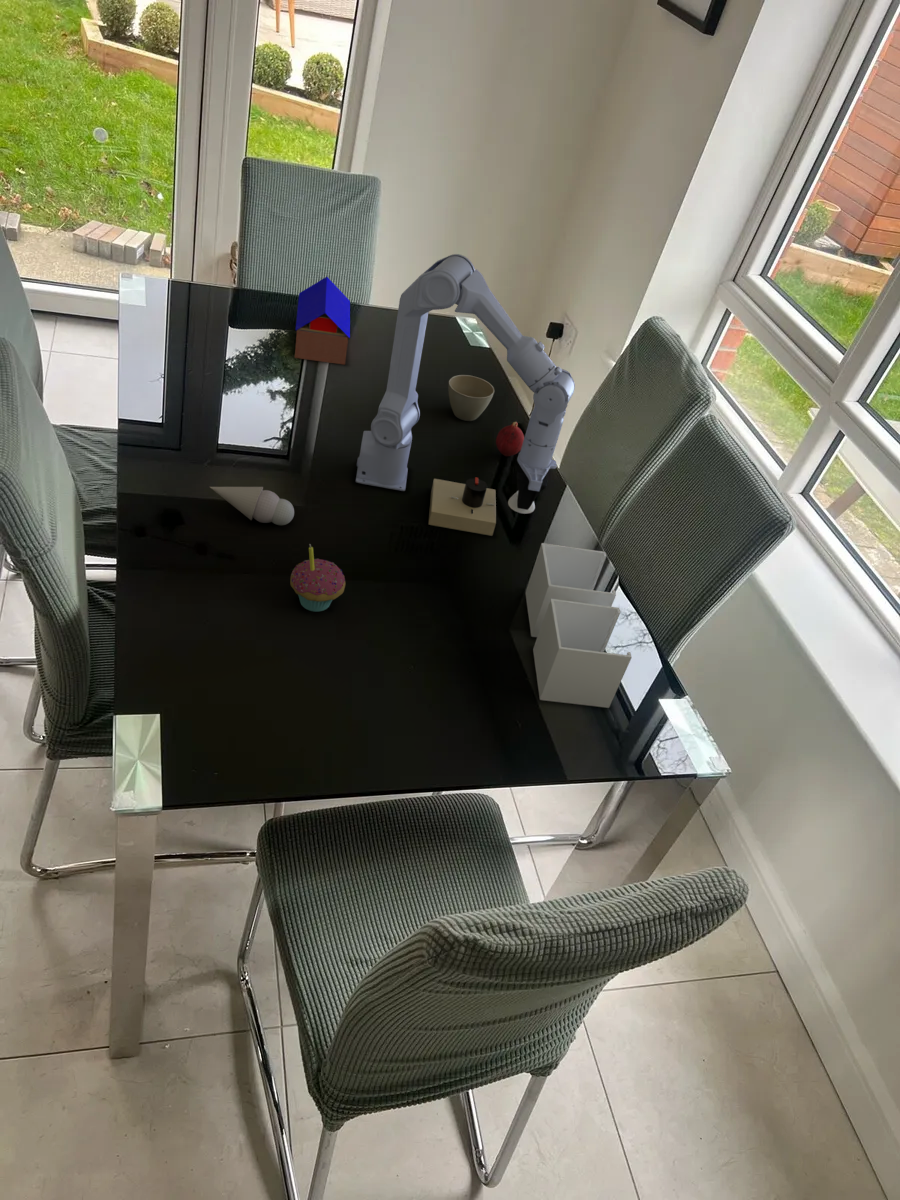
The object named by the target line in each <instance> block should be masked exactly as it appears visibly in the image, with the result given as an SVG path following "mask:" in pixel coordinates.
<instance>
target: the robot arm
mask: <svg viewBox="0 0 900 1200" xmlns="http://www.w3.org/2000/svg"><path fill="white" fill-rule="evenodd" d="M454 305H457V306H456V308H455V309H454V312H455V313H459V314H460V313H461V314H470V315H471V314H472V315H475V316H476V318H478V319H479V320H480V322H481V323H482V324H483V325H484V326H485V327H486V329H487V330H489V331H490V333H491V334H492V335H493V336H494V337H495V338H496V339H497V341H499V342H500V344H501V345H502V346H503V347H504V348H505V349H506V361H507V363H508V364H509V365H510V366H511V367H512V369H513V370H514V371H515V373H516V374H517V375H518V376H519V378H520V379H521V380H522V382H523V383H524V384H525V385H526V386H527V388H528V389H529V390H530V391H531V392H532V393H533V394H532V395H533V396H532V399H533V404H534V407H533V409H532V411H531V413H530V417H529V420H528V425H527V427H526V431H525V434H524V441H523V444H522V448H521V450H520V451H519V452H518V455H516V456H515V463H516V467H517V468H516V469H517V472H516V492H517V491H518V499H517V508H520V509H526V510H528V509H529V508H530V506H531V505H532V503H533V501H534V502H535V500H536V498H537V497H538V496H539V494H540V493H542V491H544V490H545V489H546V488H547V487H548V485H549V484H548V479H545V477H546V475H547V474H548V472H549V471H550V470H556V468H557V465H558V464H557V461H556V460H554V459H553V457H554V453H555V450H556V447H557V444H558V440H559V437H560V433H561V430H562V427H563V424H564V421H565V420H564V419H565V416H566V413H567V407H568V404H569V402H570V401H571V398H572V397H573V395H574V393H575V388H576V384H575V380H574V378H573V377H572V373H571V372H570V371H568V370H566V369H563V368H561V366H560V365H558V366H557V365H556V364H555V362H553V360H552V359H551V358H550V356H549V355H548V353H546V351H545V350H544V349H545V348H546V346H545V344H544V343H542V341H539V342H538V341H537V340H536V339H535V338H534V337H532V336H528V335H527V336H526V335H523V334H522V332H521V331H520V330H519V329H518V327H517V325H516V324H515V323H514V322H513V319H512V318H511V317H510V316H509V314H508V313H507V312H506V310H505V308H504V307H503V305H501V303H500V302H499V300H498V299H497V298H496V296H495V295H494V293H493V292H492V291H491V289H490V287H489V286H488V284H487V281H486V279H485V277H484V275H483V273H481V272H480V271H479V269H477V268H475V266H474V263H473V262H472V261H471V260H470V259H469V257H467V256H465V255H462V254H459V253H453V254H450V255H448V256H445V257H443V258H440V259H437V261H435V263H433V264H432V265H431V266H430V267H428V268H427V269H426V270H425V271H424V272H423V273H421V274H420V275H419V276H418V277H417V278H416V279H415V280H414V281H413V282H412V283H411V284H410V285H409V286H408V287H407V288H406V289H405V290H404V291H403V292H402V293H401V294H400V297H399V301H398V308H397V315H396V323H395V329H394V336H393V343H392V350H391V357H390V363H389V371H388V377H387V383H386V389H385V390H386V391H385V393H384V395H383V396H382V398H381V401H380V403H379V406H378V409H377V413H376V415H375V417H374V418H373V419H372V421H371V424H370V430H364V431H363V433H362V438H361V445H360V451H359V456H358V457H357V461H356V467H357V468H356V469H357V470H356V477H355V483H357V484H361V485H368V486H372V487H377V488H384V489H389V490H395V491H399V492H400V491H401V492H405V491H406V488H407V479H408V470H409V468H408V463H409V457H410V451H411V447H412V444H413V443H412V442H413V441H412V440H413V434H412V428H413V427H414V426H415V425H417V423H418V422H419V420H420V416H421V410H420V407H419V403H418V399H419V394H418V392H417V391H416V389H417V383H418V379H419V378H418V377H419V372H420V365H421V361H422V360H421V359H422V355H423V348H424V342H425V336H426V330H427V324H428V317H429V313H430V312H432V311H437V310H445V309H449V308H451V307H453V306H454Z"/></svg>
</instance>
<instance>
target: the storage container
mask: <svg viewBox="0 0 900 1200" xmlns="http://www.w3.org/2000/svg"><path fill="white" fill-rule="evenodd" d="M606 559H607V553H606V551H601V550H594V549H587V548H580V547H573V546H567V545H558V544H552V543H546V542H541V544H540V546H539V550H538V553H537V556H536V560H535V562H534V565H533V568H532V571H531V574H530V578H529V580H528V584H527V587H526V589H525V599H526V608H527V614H528V616H527V617H528V623H529V629H530V637H532V638H536V639H535V642H534V646H533V647H532V648H533V649H532V653H533V659H534V667H535V674H536V681H537V683H536V684H537V689H538V696H539V697H538V698H539V701H547V702H555V703H564V704H573V705H580V706H589V707H598V708H607V709H610V707H611V704H612V702H613V700H614V698H615V696H616V693H617V691H618V689H619V686H620V684H621V682H622V680H623V678H624V676H625V674H626V671H627V669H628V666H629V664H630V663H631V660H632V653H631V651H627V652H626V654H621V653H612V652H605V650H606V648H607V646H608V643H609V641H610V638H611V636H612V634H613V631H614V629H615V627H616V624H617V622H618V619H619V617H620V614H621V608H620V607H619V606H618V607H617V606H613V604H614V602H615V599H616V596H617V593H616V590H615V589H612V590H611V592H610V591H601V590H595V587H596V584H597V582H598V579H599V577H600V574H601V571H602V569H603V566H604V564H605V561H606Z"/></svg>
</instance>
